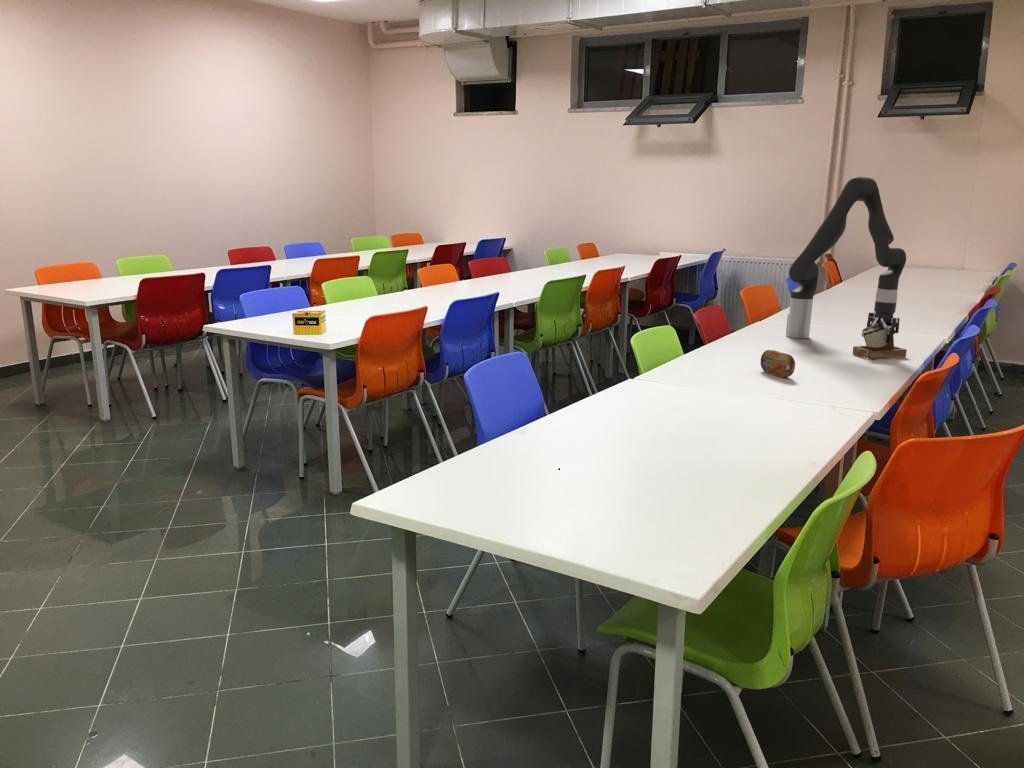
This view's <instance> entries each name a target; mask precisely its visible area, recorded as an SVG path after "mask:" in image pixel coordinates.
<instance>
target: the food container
mask: <svg viewBox="0 0 1024 768" xmlns="http://www.w3.org/2000/svg"><path fill="white" fill-rule="evenodd" d="M889 326H890V325H889ZM890 331H891V330H890ZM887 334H888V333H887V331H886V329H885V328H884V327H882V326H878V325H876V326H869V327H867V326H866V327H864V328H863V329H862V331H861V337H862V338H864V341H865V342H864V343H865V346H867V349H868V350H871V351H881V350H894V346H895V342H894V341H895V340H894V339H895V338H894V337H895V336H894V335H893V341H892V343H891V344H887V343H886V338H887Z"/></svg>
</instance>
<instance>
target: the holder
mask: <svg viewBox="0 0 1024 768" xmlns="http://www.w3.org/2000/svg"><path fill="white" fill-rule="evenodd" d="M852 348H853V349H852V354H855V355H858V356H857V357H859V356H861V357H860V358H862V357H865V358H864V359H866V358H868V359H867V360H869V359H871V360H870V361H876V360H875V359H882V360H890V359H891V360H892V358H895V359H906V357H907V352H908V349H906V348H904V347H903V348H902V347H898V346H896V345H894V350H881V351H871V350H868V349H867V346H866V345H855V346H853V347H852ZM855 355H854V356H855Z"/></svg>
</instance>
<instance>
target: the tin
mask: <svg viewBox="0 0 1024 768" xmlns="http://www.w3.org/2000/svg"><path fill="white" fill-rule="evenodd" d="M760 357H761V358H760V367H761V369H762V371H763V372H764V373H766V374H768V375H772V376H776V377H778V378H789V377H791V376H792V375H793V374H794V372H795V368H796V361H795V359H794V357H793V355H791V354H790V353H785V352H781V351H778V350H773V349H767V350H765V351H763V352H762V354H761V356H760Z"/></svg>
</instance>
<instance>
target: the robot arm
mask: <svg viewBox="0 0 1024 768" xmlns="http://www.w3.org/2000/svg"><path fill="white" fill-rule="evenodd" d="M856 202H862V203H864V205H865V207H866V208H867V212H868V221H867V222H868V223H867V225H868V226H867V227H868V231H869V233H870V237H871V238H872V241H873V244H874V252H875V259H876V262H877V263H878V265H879V266H880V267H883V268H887V269H886V271H885V272H882V273H880V275H878V283H877V290H876V293H875V300H874V301H875V302H874V308H873V310H874V311H873V312H868V317H867V322H866V327H869V326H876V325H878V326H882V327H884V328H885V329H886V331H887V333H888V334H887V338H886V343H887V344H891V343H892V341H893V336H894V335H895V334H899V331H900V320H901V319H900V317H894V314H895V313H896V311H897V310H896V309H897V301H898V289H899V281H900V278H901V275H902V273H903V270H904V268H905V265H906V262H907V254H906V252H905V250H904V249H903V248H899V247H890V244H892V243H893V242H894V239H895V237H894V234H893V232H892V230H891V227H890V225H889V222H888V221H887V217H886V215H885V211H884V207H883V203H882V199H881V193H880V190H879V186H878V183H877V181H876V180H875V179H874V178H871V177H865V176H853V177H851V178H850V179H849V180H848V181H847V182H846V184H845V185H844V186H843V188H842V190H841V193H840V194H839V196H838V198H837V200H836V202H835V203H834V205H833V207H832V208H831V210H830V211H829V213H828V215H827V216H826V217H825V219H824V220H823V221H822V223H821V224H820V226H819V227H818V229H817V231H816V232H815V234H814V235H813V237H812V238H811V239H810V241H809V242H808V243H807V245H806V247H805V248H804V249H803V251H802V252H801V253H800V255H799V256H797V257H796V259H795V260H794V261H793V263H792V264H791V266H790V267H789V270H788V271H789V272H788V277H789V279H790V280H791V281H792V282H793V283H798V285H797V286H796V287H795V288H794V289H792V291H791V292H790V301H789V313H788V314H787V319H786V330H785V336H786V337H788V338H792V339H809V338H810V332H811V323H812V313H813V303H814V295H815V293H816V291H817V286H818V279H819V275H820V274H819V266H818V264H817V262H816V261H817V260H818V259H819V258H821V256H823V255H824V254H825V253H827V252H828V251H829V250H831V249H832V248H833V247H834V246H835V245H836V244H837V243H838V241H839V240H840V238H841V237H842V235H844V232H845V231H846V227H847V218H848V214H849V212H850V210H851V209H852V207H853V206H854V205H855V203H856ZM889 325H890V326H889ZM890 330H891V331H890Z"/></svg>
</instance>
